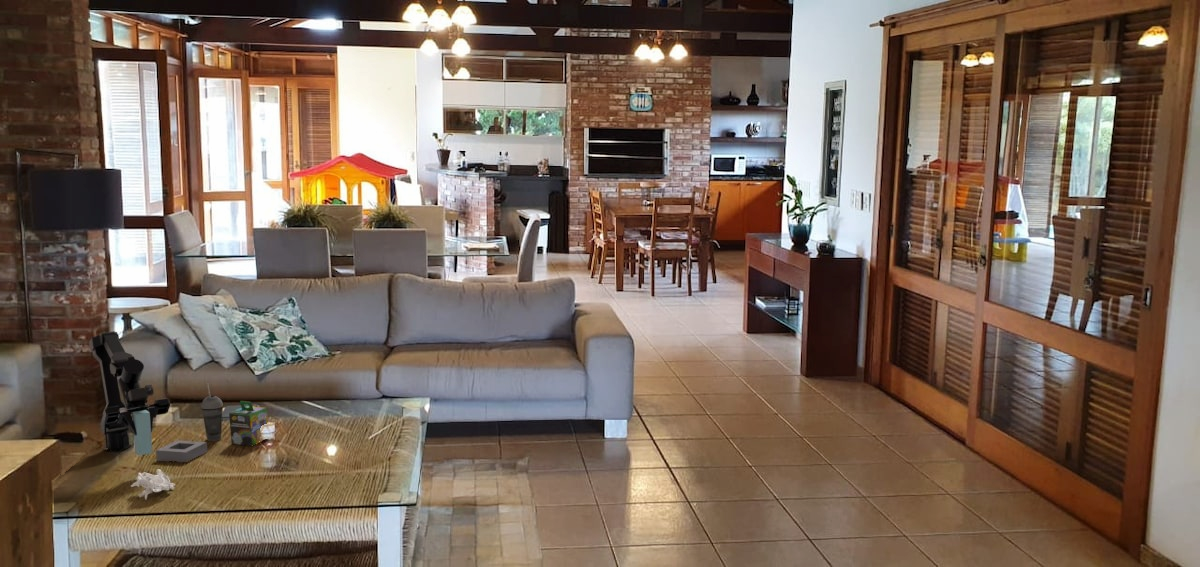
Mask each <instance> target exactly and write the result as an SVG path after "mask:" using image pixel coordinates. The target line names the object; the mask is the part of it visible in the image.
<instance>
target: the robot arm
mask: <svg viewBox="0 0 1200 567" xmlns="http://www.w3.org/2000/svg"><path fill="white" fill-rule="evenodd" d="M119 335H120V334H118V332H117V331H114V330H113V331H107V332H102V333H100V334H99V335H96V336H93V337H91V338H90V340H88V341H89V344H88V347H89V350H90V351H91V353H92V357H93V358H94V359H95V360H96V361H97V362H98V363H99V367H100V372H101V378H102V385H103V390H104V397H105V403H106V405H105V406H104V409H103V412H102V417H101V421H100V424H99V427H100V433H101V434H103V435H104V436H105V437H104V438H105V439H104V440H105V448H108V449H107V450H112V451H111V452H121V451H123V450H126V449H128V448H130V447H132V444H130V438H129V437H130V436H129V434H128V431H130V432H131V433H132V434H133V436H134V435H137V432H136V428H135V425H134V423H133V416H132V412H136V411H142V410H147V411H148V412H150V425H151V433H152V431H153V423H154V418H156V417H157V416H160V415H166V414H168V412H169V410H170V407H171V402H170V401H171V400H170V399H169V398H167V397H163V398H156V399H155V400H154V403H153V404H147V403H148V398H149V396H153V395H154V394H155V391H154V388H153V385H152V384H147V385H146V384H145V386H144V387H141V384H140V382H141V379H142V376H143V372H144V368H145V365H144V363H143V361H141V360H139V359H137V358H135V356H133V354H131V353H128V352H127V351H126V350H125V348H124V347H123V345H122V343H121V340H120V336H119ZM118 377H119V379H118ZM121 396H122V398H121ZM105 450H106V449H105Z"/></svg>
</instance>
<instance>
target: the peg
mask: <svg viewBox="0 0 1200 567" xmlns="http://www.w3.org/2000/svg"><path fill="white" fill-rule="evenodd" d="M131 416H132V420H133V423H134V425H135V428H136V432H137V435H134V434H133V442H134V443H133V444H134V453H135V454H136V455H137V456H144V455H149V454H153V443H152V442H153V441H152V432H151V425H150V412H148V411H147V410H142V411H136V412H132V414H131Z"/></svg>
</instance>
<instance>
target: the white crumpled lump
mask: <svg viewBox="0 0 1200 567" xmlns="http://www.w3.org/2000/svg"><path fill="white" fill-rule="evenodd" d="M135 486H136V487H138V488H139V487H140V486H141V487H142V488H145V490H142V491H141V492H139V493H138V496H139V498H141V497H144V499H145V500H147V498H148V495H149V494H152V493H153V492H154V493H161V491H170V490H172V491H173V490H175V486H176V484H175V483H173V482H171V480H170V478H169V475H166V474H165V473H164V472H163V471H162V470H161V469H160V468H159V469H156V474H152V473H148V472H146V471H143V472H142V473H141V472H138V473H137V477H136V481H135V482H133V483H132V484H131V485H130V487H131V488H132V487H133V488H134V487H135Z"/></svg>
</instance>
